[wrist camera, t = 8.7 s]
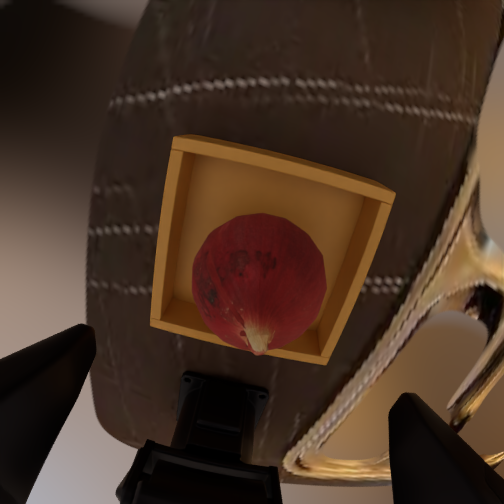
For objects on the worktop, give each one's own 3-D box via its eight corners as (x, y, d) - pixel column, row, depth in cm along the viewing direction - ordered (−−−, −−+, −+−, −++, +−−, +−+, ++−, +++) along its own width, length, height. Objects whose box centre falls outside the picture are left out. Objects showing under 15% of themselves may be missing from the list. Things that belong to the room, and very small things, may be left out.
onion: (191, 263, 18) (141, 354, 11) (243, 175, 16) (215, 221, 8) (277, 312, 19) (277, 418, 11) (336, 234, 17) (379, 319, 9)
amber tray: (320, 334, 20) (326, 365, 17) (165, 299, 20) (149, 326, 17) (377, 181, 16) (396, 193, 13) (190, 133, 16) (173, 135, 13)
